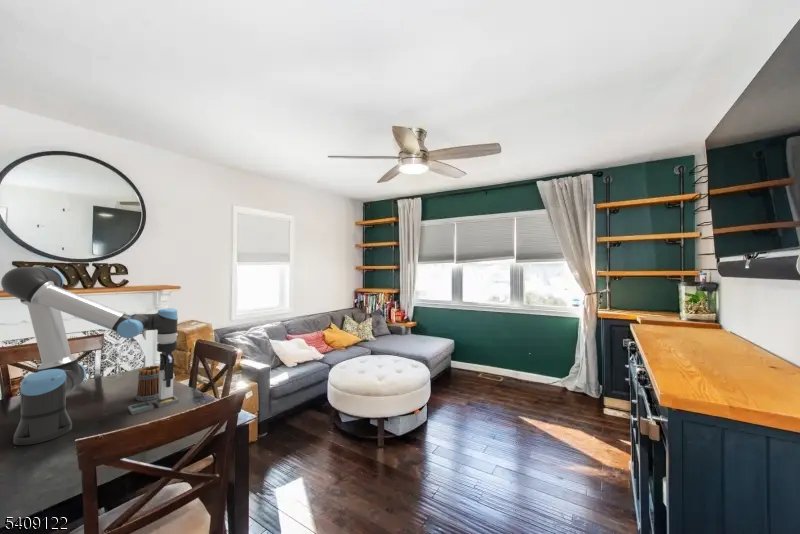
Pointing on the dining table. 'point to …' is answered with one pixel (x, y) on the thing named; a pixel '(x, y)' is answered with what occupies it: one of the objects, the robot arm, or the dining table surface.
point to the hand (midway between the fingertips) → (165, 391)
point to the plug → (161, 385)
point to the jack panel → (149, 406)
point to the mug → (148, 383)
